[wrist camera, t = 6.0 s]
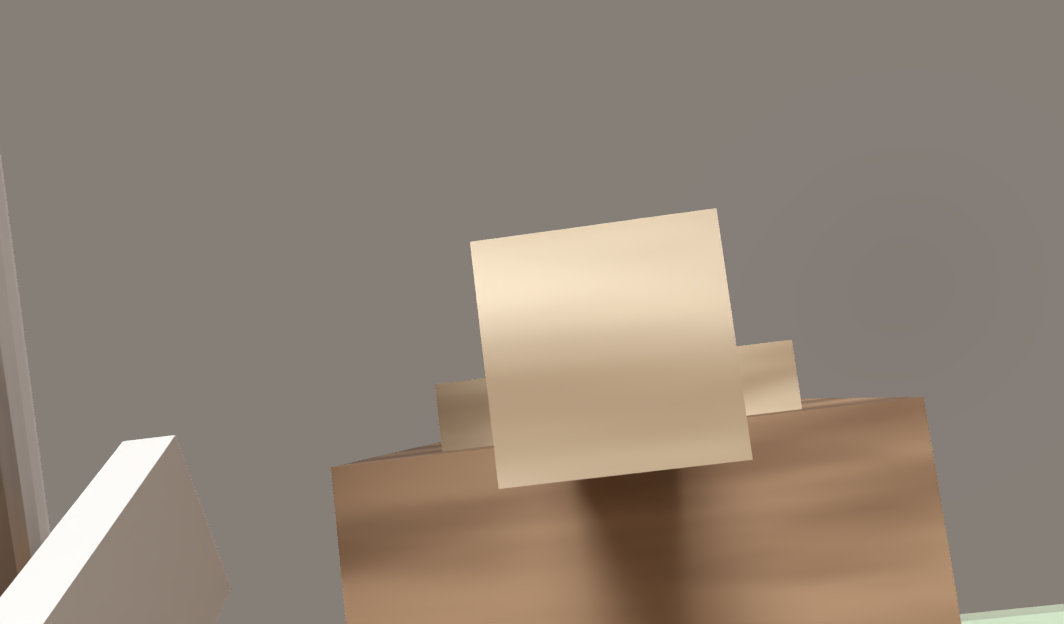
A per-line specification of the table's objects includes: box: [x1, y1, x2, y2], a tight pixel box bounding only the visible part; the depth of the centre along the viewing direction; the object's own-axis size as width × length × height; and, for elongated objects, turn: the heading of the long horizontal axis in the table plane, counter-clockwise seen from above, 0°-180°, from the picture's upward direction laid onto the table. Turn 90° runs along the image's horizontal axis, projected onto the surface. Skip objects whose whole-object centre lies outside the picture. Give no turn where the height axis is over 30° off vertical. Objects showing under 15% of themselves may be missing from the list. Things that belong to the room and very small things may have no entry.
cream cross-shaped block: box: [435, 208, 802, 489], centre depth 26 cm, size 30×10×3 cm, turn 175°
